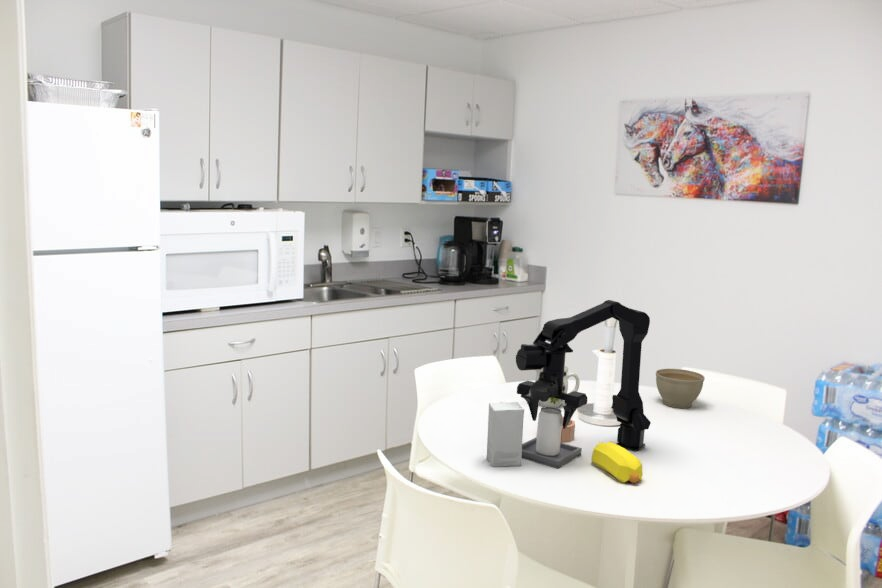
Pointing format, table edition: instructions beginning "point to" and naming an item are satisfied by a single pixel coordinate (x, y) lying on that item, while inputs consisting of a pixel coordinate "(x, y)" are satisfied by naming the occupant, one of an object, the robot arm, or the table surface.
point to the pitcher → (557, 402)
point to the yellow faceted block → (617, 462)
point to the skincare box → (505, 434)
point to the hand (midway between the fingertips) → (549, 424)
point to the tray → (557, 461)
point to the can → (549, 431)
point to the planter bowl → (679, 386)
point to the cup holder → (568, 431)
